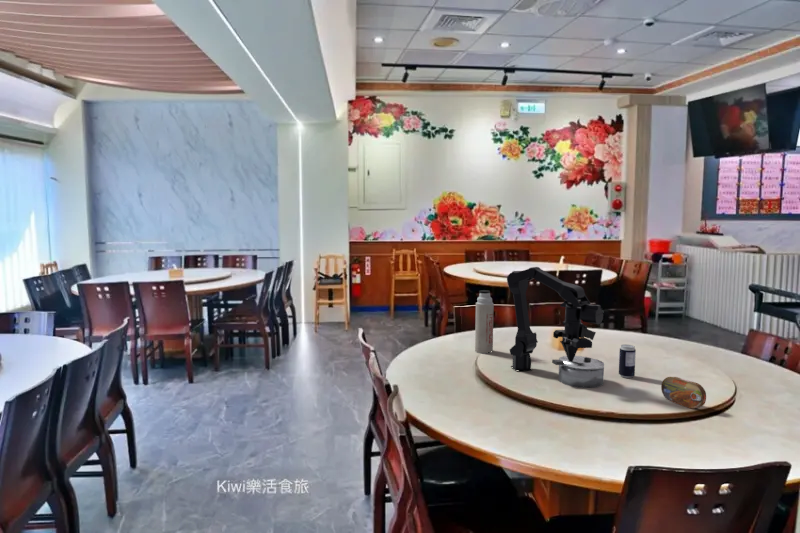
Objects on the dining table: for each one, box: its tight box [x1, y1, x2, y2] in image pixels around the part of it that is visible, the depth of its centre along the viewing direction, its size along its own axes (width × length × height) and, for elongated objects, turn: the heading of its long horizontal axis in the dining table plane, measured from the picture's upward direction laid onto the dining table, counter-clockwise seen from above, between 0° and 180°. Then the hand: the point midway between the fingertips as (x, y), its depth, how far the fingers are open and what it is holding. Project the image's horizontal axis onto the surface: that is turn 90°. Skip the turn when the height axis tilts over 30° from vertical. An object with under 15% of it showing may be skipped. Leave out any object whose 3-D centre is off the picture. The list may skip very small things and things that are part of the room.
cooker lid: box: [551, 355, 605, 370], centre depth 202 cm, size 19×16×2 cm
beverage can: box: [618, 344, 637, 379], centre depth 209 cm, size 6×6×12 cm
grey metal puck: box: [558, 365, 605, 389], centre depth 203 cm, size 16×16×6 cm
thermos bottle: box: [474, 289, 494, 354], centre depth 246 cm, size 8×8×28 cm
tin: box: [660, 376, 707, 410], centre depth 179 cm, size 15×3×8 cm, turn 25°
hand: (570, 361), depth 202 cm, fingers closed, pressing on cooker lid
